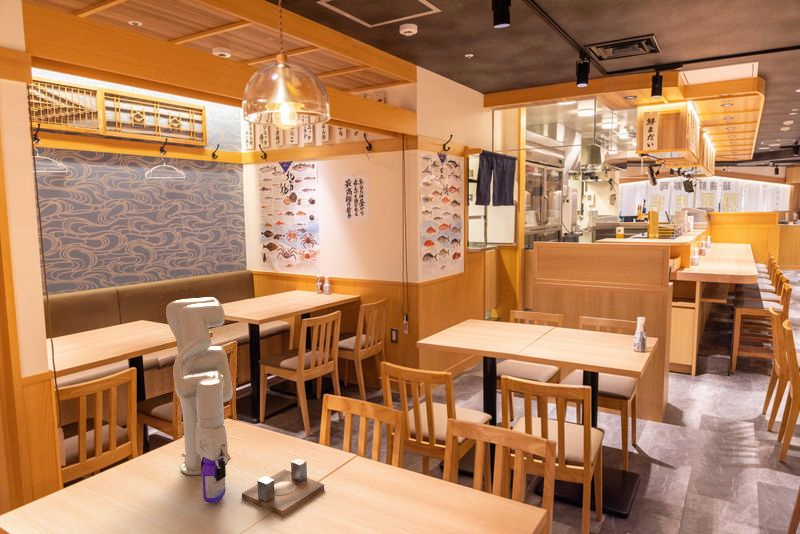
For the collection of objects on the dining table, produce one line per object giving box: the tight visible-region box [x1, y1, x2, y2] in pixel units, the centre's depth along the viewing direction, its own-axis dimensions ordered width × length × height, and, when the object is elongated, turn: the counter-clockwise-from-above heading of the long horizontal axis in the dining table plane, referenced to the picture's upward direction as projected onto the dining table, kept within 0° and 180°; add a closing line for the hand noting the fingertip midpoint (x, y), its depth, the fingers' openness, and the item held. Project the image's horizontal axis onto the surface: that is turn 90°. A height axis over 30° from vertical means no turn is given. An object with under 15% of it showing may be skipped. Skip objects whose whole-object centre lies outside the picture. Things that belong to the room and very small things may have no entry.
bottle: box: [201, 455, 227, 504], centre depth 165 cm, size 7×6×17 cm
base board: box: [241, 468, 325, 518], centre depth 170 cm, size 18×18×2 cm
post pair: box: [256, 458, 308, 503], centre depth 169 cm, size 4×17×6 cm, turn 146°
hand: (213, 474), depth 165 cm, fingers closed on bottle, 6 cm apart
